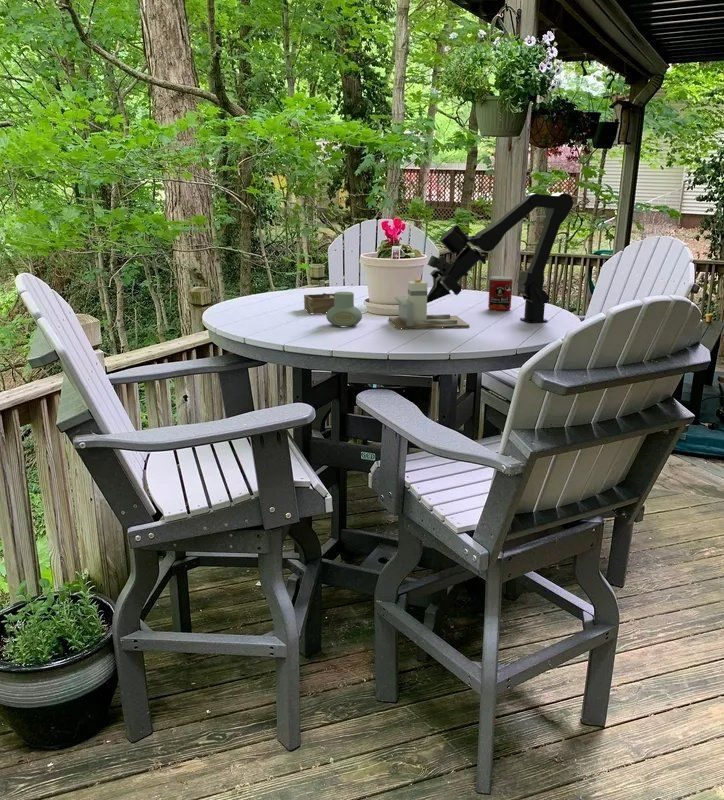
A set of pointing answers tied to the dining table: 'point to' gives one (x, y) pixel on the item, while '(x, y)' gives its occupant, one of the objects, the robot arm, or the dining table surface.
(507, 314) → the dining table surface
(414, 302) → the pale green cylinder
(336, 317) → the air freshener
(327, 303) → the brown wooden box
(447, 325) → the board
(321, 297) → the eagle figurine
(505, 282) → the canned food
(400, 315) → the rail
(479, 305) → the dining table surface
